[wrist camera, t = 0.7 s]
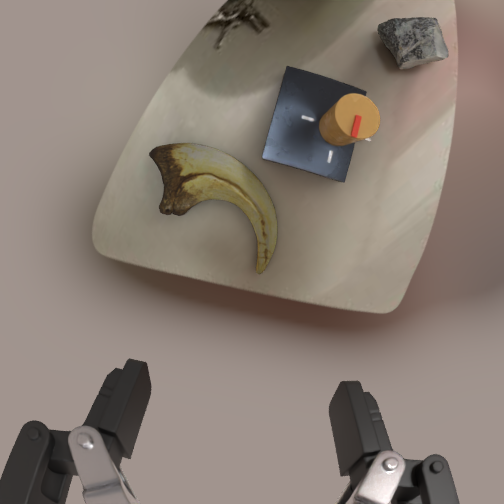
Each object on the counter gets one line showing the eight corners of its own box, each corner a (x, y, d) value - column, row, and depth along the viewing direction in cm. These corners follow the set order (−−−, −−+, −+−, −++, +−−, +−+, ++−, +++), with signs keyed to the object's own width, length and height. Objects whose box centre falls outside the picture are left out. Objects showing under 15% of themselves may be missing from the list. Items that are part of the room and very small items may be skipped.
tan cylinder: (323, 105, 29) (341, 85, 21) (358, 117, 29) (385, 103, 21) (314, 139, 30) (330, 129, 22) (350, 151, 30) (376, 145, 22)
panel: (285, 72, 30) (287, 65, 28) (373, 101, 30) (380, 96, 28) (261, 159, 34) (261, 158, 31) (352, 186, 34) (358, 187, 31)
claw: (137, 191, 35) (126, 193, 32) (175, 123, 33) (167, 119, 29) (261, 270, 38) (262, 279, 34) (306, 205, 35) (311, 208, 32)
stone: (430, -4, 17) (432, 53, 19) (454, 40, 23) (454, 95, 25) (366, 1, 24) (360, 54, 26) (399, 39, 30) (395, 89, 32)
